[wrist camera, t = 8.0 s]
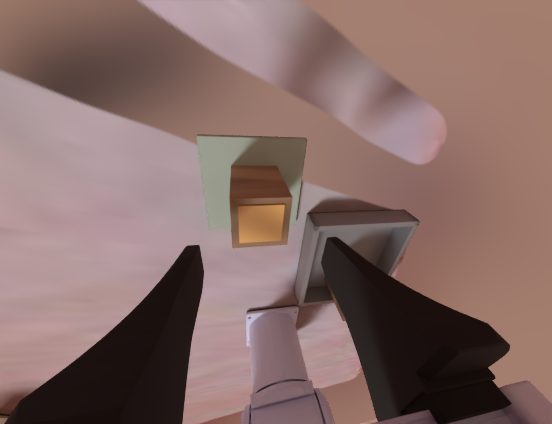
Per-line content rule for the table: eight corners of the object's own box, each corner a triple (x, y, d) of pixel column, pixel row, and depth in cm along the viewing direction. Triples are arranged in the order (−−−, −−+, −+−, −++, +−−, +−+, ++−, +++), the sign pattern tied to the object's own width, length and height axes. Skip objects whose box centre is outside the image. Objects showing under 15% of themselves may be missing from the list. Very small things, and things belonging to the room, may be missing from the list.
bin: (370, 282, 31) (380, 296, 29) (293, 290, 29) (298, 306, 27) (404, 209, 24) (420, 221, 22) (307, 213, 22) (314, 226, 20)
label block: (274, 204, 20) (287, 245, 15) (233, 205, 20) (232, 249, 14) (276, 165, 18) (293, 198, 13) (231, 165, 17) (229, 199, 12)
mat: (293, 222, 23) (295, 225, 22) (209, 225, 21) (208, 229, 20) (305, 137, 18) (307, 139, 17) (197, 134, 16) (196, 136, 16)
